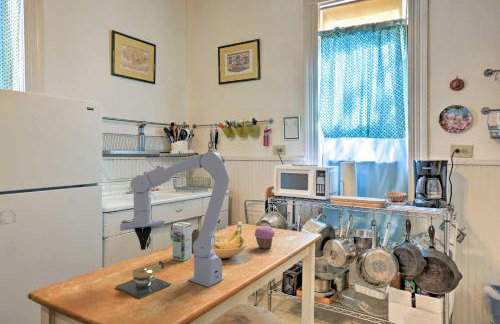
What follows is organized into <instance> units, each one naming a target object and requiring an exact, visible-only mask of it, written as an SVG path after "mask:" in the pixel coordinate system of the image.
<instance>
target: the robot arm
mask: <svg viewBox="0 0 500 324" xmlns="http://www.w3.org/2000/svg"><path fill="white" fill-rule="evenodd" d="M192 168H195V169H202V168H203V170H205V171H206V172H207V173H209V175H210V177H212V179H213V181H214V184H213V188H212V191H211V195H210V199H209V201H208V205H207V209H206V212H205V215H204V218H203V222H202V226H201V229H200V230H199V231H200V233H199V236H198V238H197V240H196V241H195V242H194V244H193V250H192V252H193V276H190V277H189V278H188V279H187V281H189V282H190V281H191V282H193V283H196V284H199V285H202V286H203V287H204V286H205V287H211V286H213V285H215V284H217V283H219V282H220V281H223V280H224V277H223V261H222V259H221V258H220V257H219V256H217V255H216V252H215V249H214V248H213V247H214V245H215V244H216V243H215V242H216V236H215V234H216V229H217V225H218V222H219V219H220V215H221V211H222V208H223V205H224V200H225V196H226V195H227V191H228V188H229V184H230V181H231V177H230V174H229V171H228V167H227V164H226V160H225V159H224V158H223V156H222V155H221V154H220V152H217V151H208V152H204V153H201V154H196V155H192V156H190V157H188V158H186V159H184V160H182V161H179V162H177V163H175V164H173V165H171V166H167V165H160V164H159V165H157V166H155V168H154V169H151V170H149V171H147V170H146V171H144V172H143V174H140V175H139V174H137V175H136V176H134V177H133V178H132V179H131V182H130V187H131V189H132V191H133V221H132V222H125V223H120V224H119V230H120V232H121V231H129V230H134V232H135V234H136V236H137V238H138V241H139V246H140V250H141V251H145V250H146V247H147V243H148V240H149V237H150V236H151V233H152V228H159V227H161V228H164V227H165V225H166V223H165V220H163V219H159V220H155V219H154V220H152V188H153V189H154V188H156V187H159V186H161V185H163V184H165V183H167V182H168V183H169V182H170V181H171V180H172V178H173V177H174V176H175V175H177V174H180V173H182V172H185V171H188V170H191V169H192Z"/></svg>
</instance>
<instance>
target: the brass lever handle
mask: <svg viewBox="0 0 500 324" xmlns="http://www.w3.org/2000/svg"><path fill="white" fill-rule="evenodd" d="M163 269H165V261H164V260H160V261H158V263H156V264H154V265H151V266H143V267H137V268H135V269H134V270H133V271H132V279H136V280H146V279H149V278H152V277H154V276H155V274H154V272H157V271H159V270H163Z"/></svg>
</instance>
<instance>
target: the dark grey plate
mask: <svg viewBox="0 0 500 324" xmlns="http://www.w3.org/2000/svg"><path fill="white" fill-rule="evenodd" d="M170 285H171V286H172V283H171V282H168V281H165V280H163V279H160V278H158V277H156V276H155V277H154V276H153V277H152V278H149V279H146V280H136V279H134V278H132V279H129V280H128V281H126V282H122V283H121V284H120V283H119V284H118V285H115V287H116V288H115V287H114V288H115V289H117V288H118V289H117V290H119V289H120V290H119V291H121V290H122V291H121V292H123V291H124V292H123V293H126V294H128V295H130V296H132V295H133V296H132V297H135V298H137V299H139V300H141V299H143V298H146V297H147V295H148V296H150V295H152V294H155V293H157V292H159V291H162V290H164V289H166V288H168V287H171V286H170ZM163 288H164V289H163ZM161 289H162V290H161ZM156 291H157V292H156ZM154 292H155V293H154ZM149 294H150V295H149ZM145 296H146V297H145Z"/></svg>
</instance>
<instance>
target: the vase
mask: <svg viewBox="0 0 500 324" xmlns="http://www.w3.org/2000/svg"><path fill="white" fill-rule="evenodd" d="M192 230H193V231H192V251H193V244H194V242H195V241H196V240H197V238H198V236H199V233H200V231H201V230H200V229H198V228H197V229H196V228H195V229H192Z"/></svg>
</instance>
